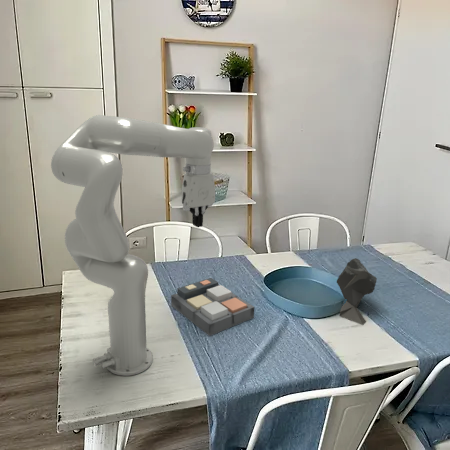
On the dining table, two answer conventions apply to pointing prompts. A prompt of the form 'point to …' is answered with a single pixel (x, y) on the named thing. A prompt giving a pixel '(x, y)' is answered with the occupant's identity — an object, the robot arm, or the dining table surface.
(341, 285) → the dark faceted sculpture
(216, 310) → the key grey front
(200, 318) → the keypad
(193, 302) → the key sand
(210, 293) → the key grey back
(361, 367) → the dining table surface
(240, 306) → the key terracotta
